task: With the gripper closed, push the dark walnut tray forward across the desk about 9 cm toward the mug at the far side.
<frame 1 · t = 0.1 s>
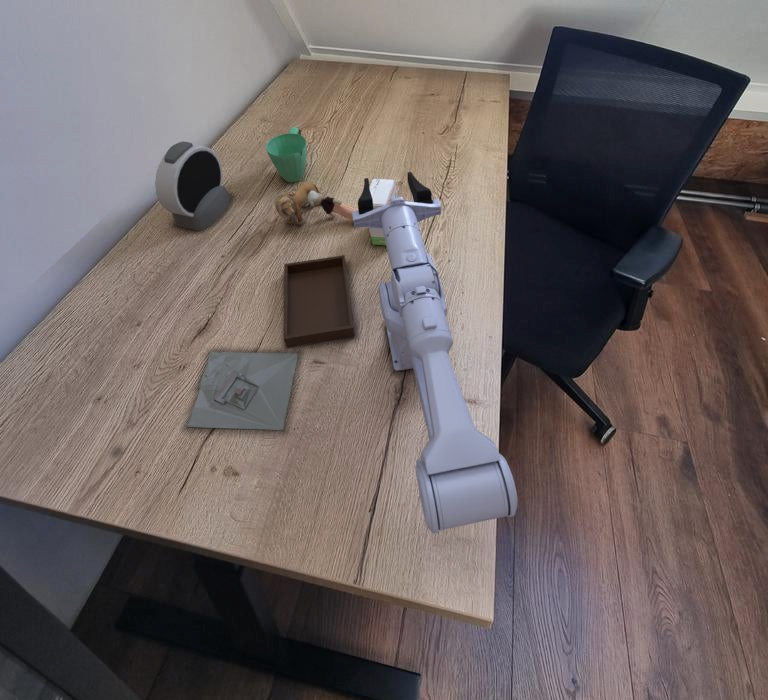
hand: (388, 179, 80), 22 cm above the table, tool horizontal, fingers open, 7 cm apart
lion figurine: (304, 216, 105), on the table, touching grandmother figurine
tray: (318, 302, 87), on the table
mug: (295, 171, 118), on the table
ink box: (387, 232, 100), on the table
grey green square plate: (214, 400, 74), on the table
grandmother figurine: (360, 218, 102), point 1 cm above the table, touching lion figurine
alarm clock: (204, 211, 109), on the table
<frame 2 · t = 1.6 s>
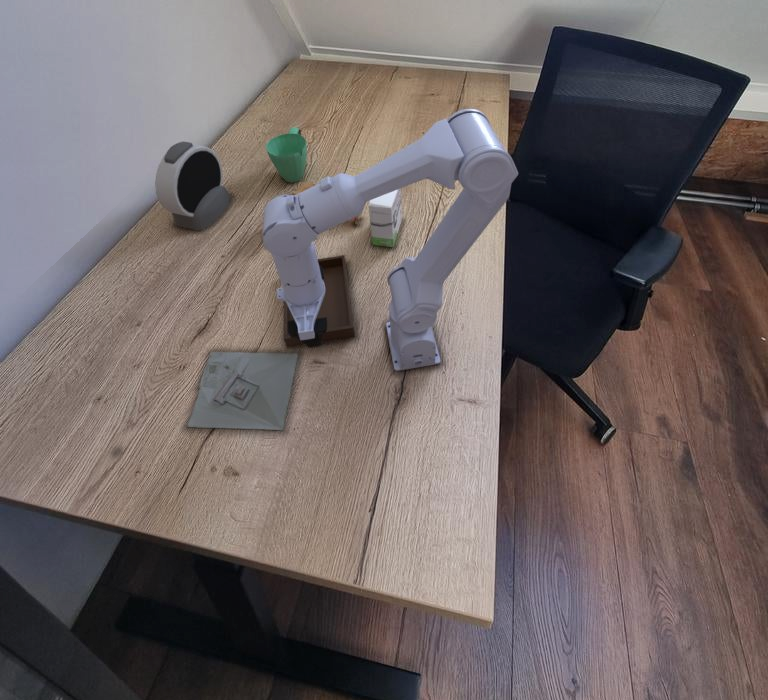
hand: (313, 324, 73), 9 cm above the table, tool pointing down, fingers open, 7 cm apart
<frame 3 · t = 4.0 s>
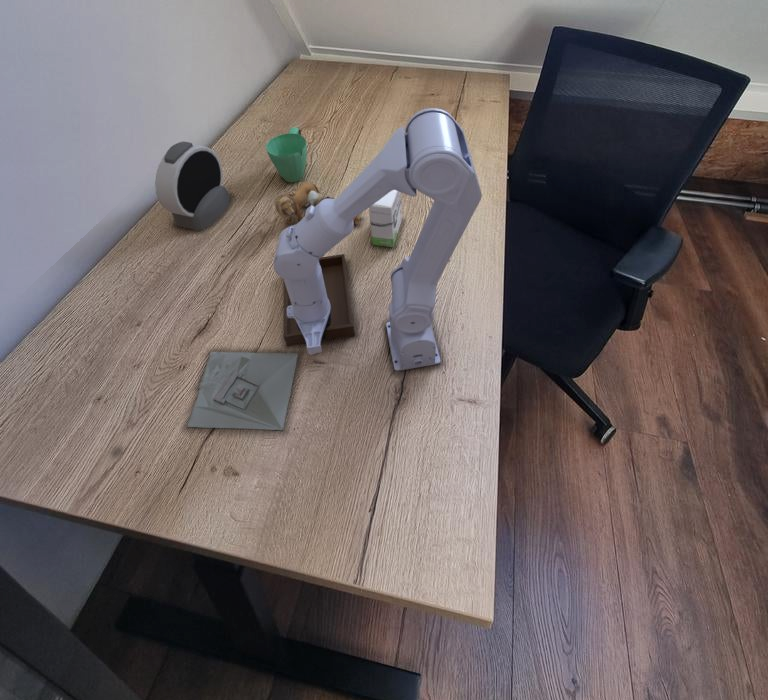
hand: (319, 337, 80), 2 cm above the table, tool pointing down, fingers closed, pressing on tray
tray: (318, 301, 88), on the table, touching gripper
everything else where it was.
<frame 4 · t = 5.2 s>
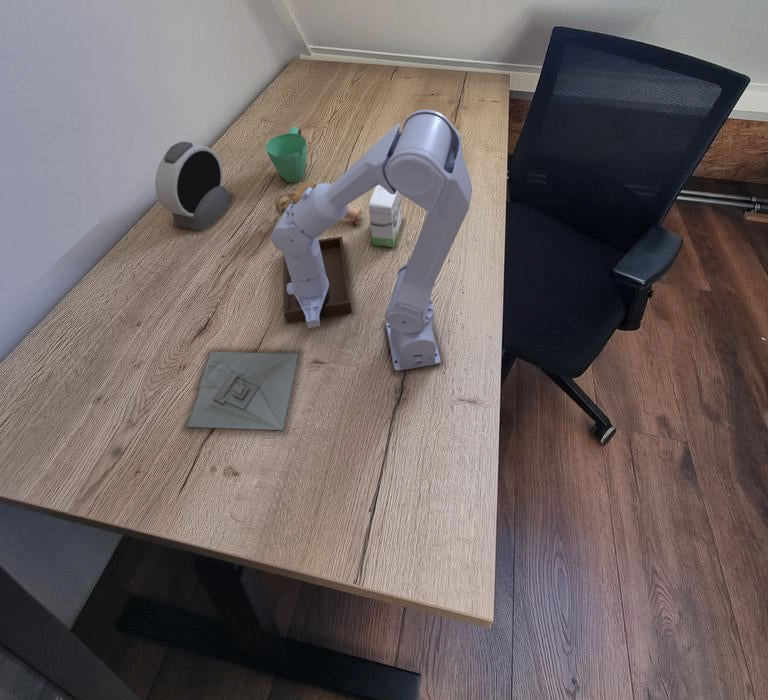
hand: (318, 315, 83), 2 cm above the table, tool pointing down, fingers closed
tray: (317, 281, 91), on the table, touching gripper
everything else where it was.
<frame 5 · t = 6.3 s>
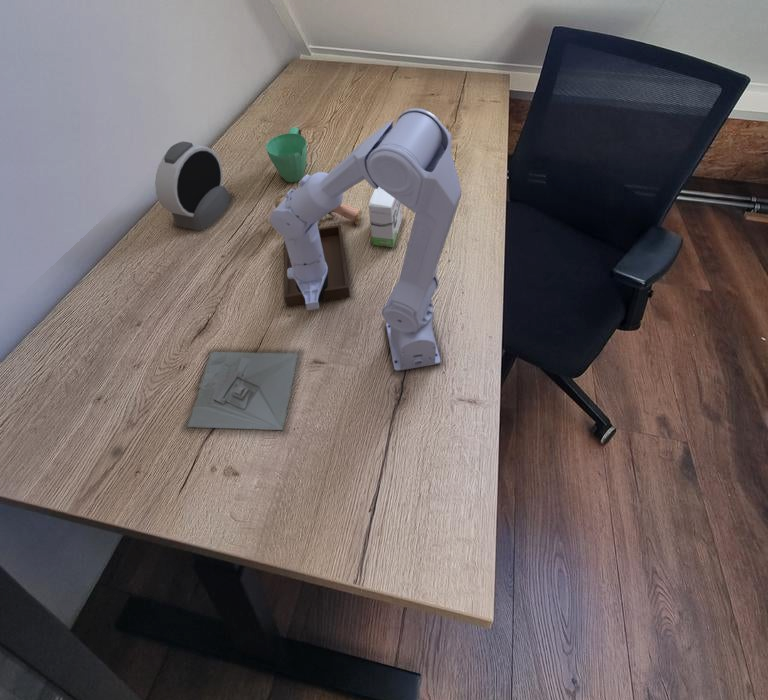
hand: (317, 300, 86), 2 cm above the table, tool pointing down, fingers closed
tray: (316, 267, 94), on the table, touching gripper
everything else where it was.
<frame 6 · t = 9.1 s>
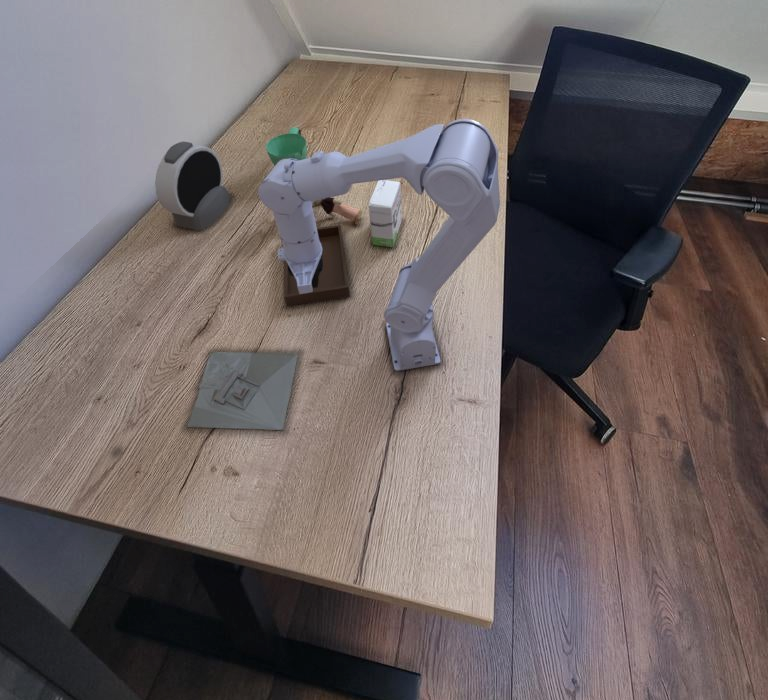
hand: (311, 285, 79), 9 cm above the table, tool pointing down, fingers closed
tray: (316, 267, 94), on the table
everything else where it was.
at the end: tray inside the target area (0.9 cm from its centre), on the table; tray moved 8.9 cm from its start; tray 34.3 cm from the mug (horizontally) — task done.
